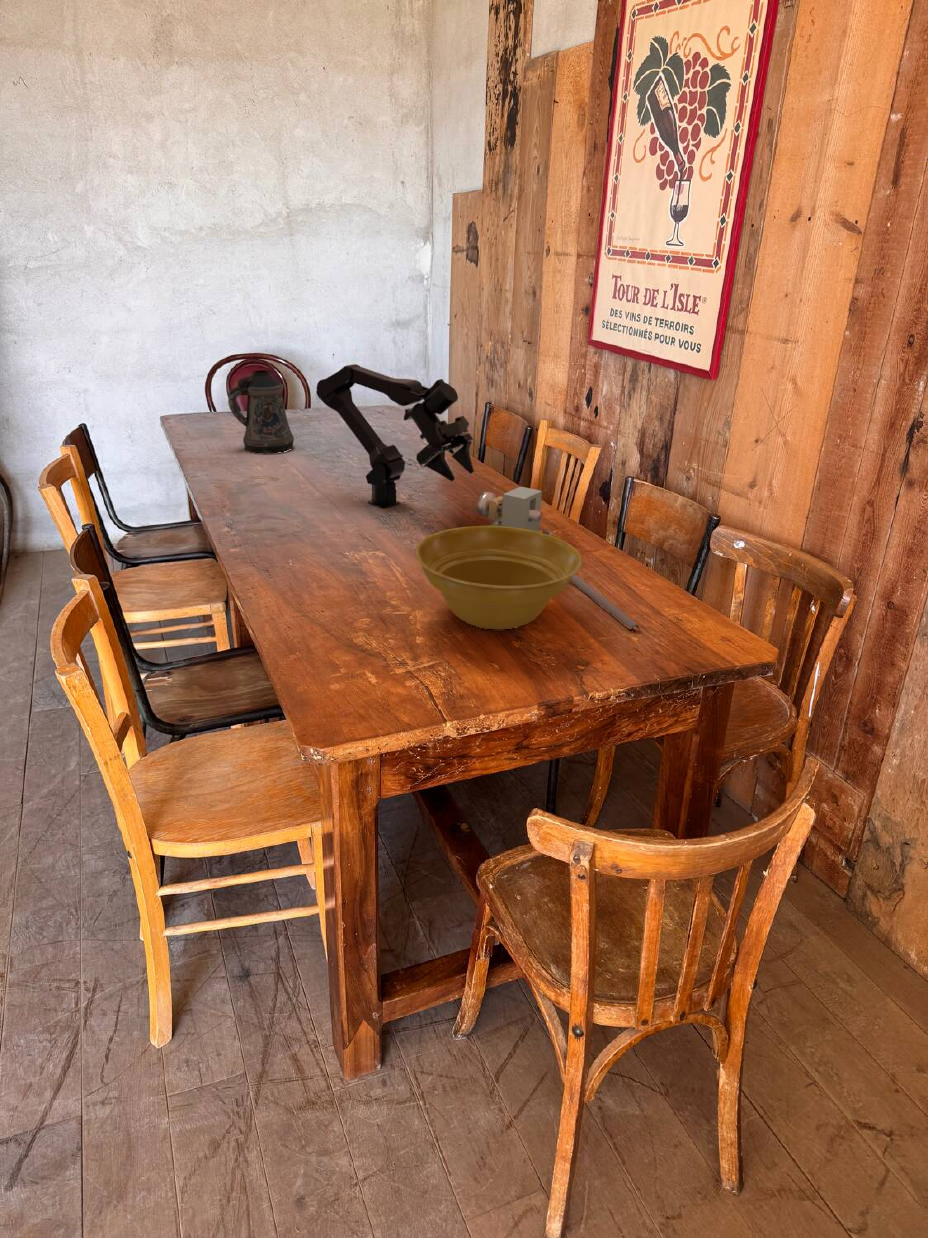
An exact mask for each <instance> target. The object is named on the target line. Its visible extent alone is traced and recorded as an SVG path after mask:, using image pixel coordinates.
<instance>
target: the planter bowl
mask: <svg viewBox="0 0 928 1238" xmlns="http://www.w3.org/2000/svg"><path fill="white" fill-rule="evenodd" d="M581 555H582V554H581V553H580V552H579V550H577V549H576V548H575V547H574V546H573V545H571V544H569V543H568V542H567V541H564V540H562V539H560V538H558V537H555V536H554V535H553V536H550V535H547V534H544V533H540V532H536V531H532V530H527V529H521V528H513V527H503V526H489V525H474V526H473V525H472V526H463V527H456V528H450V529H445V530H441V531H438V532H436V533H433V534H431V535H429V536H427V537H424V539H422V540H420V541H419V543H418V544H417V545H416V546H415V548H414V557H415V559H416V562H417V563H418V564H419V565H420V566H421V568H422V570H423V572H424V574H425V577H426V579H427V580H428V582H429V583H430V584H431V585H432V586H433V587H434V588H435V589H437V590H438V591H440V592H441V595H442V597H443V598H444V601H445V602H446V605H447V606H448V607H449V609H450V610H451V612H452V613H453V614H454V615H455V617H457V618H458V619H460V620H461V621H463V622H464V621H465V622H464V623H466V624H467V625H470V624H471V625H470V626H472V625H474V626H476V627H475V628H478V627H479V628H478V629H482V628H484V629H483V630H487V629H510V628H515V627H518V626H521V627H523V626H525V625H527V624H529V623H531V622H532V621H534V620H535V619H537V617H538V616H539V615H540V614H541V612H542V611H543V610H545V608H546V606H547V605H548V603H549V602H550V600H551V599H552V598H554V597H555V596H557V595H559V594H560V593H562V592H563V591H564V590H565V589H566V588H567V586H568V585H569V584H570V583H571V582H570V580H571V578H572V576H573V575H575V574H576V575H577V574H578V572H579V571H580V570H581V568H582V566H583V557H582V556H581ZM522 625H523V626H522ZM474 626H473V627H474ZM518 628H519V627H518ZM515 629H516V628H515ZM510 630H511V629H510Z"/></svg>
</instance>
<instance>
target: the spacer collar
mask: <svg viewBox="0 0 928 1238" xmlns="http://www.w3.org/2000/svg"><path fill="white" fill-rule="evenodd" d="M501 503H503V495H499V496H497V497H496V498H494V499H492V500H490V502H489V517H488V521H489V522H493V523H495V522H497V521H499V520H501V519H502V513H501V512H498V505H499V504H501Z"/></svg>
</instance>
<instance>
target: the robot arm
mask: <svg viewBox="0 0 928 1238" xmlns="http://www.w3.org/2000/svg"><path fill="white" fill-rule="evenodd" d="M355 384H357V385H360V386H362V387H365V388H368V389H371V390H373V391H376V392H379V393H381V394H384V395H386V396H387V397H388V398H389V400H390V401H392V402H394V403H396V404H397V405H399V406H401V407H406V406H409V405H413V406H412V407H411V408H410V407H409V408H406V409H405V410H404V416H403V420H404V421H409V420H412V421H413V422H414V423H415V425H416V427H417V428H418V430H419V431H420V433H421V434H420V435H419V438H420V439H421V440H425V441H426V442H427V443H428V444H427V445H426V446H425V447H424V448H422V449H421V450H419V451H418V453H416V459H415V460H416V461H417V463H418V465H419V466H420V467H421V466H424V467H425V468H428V469H430V470H432V471H434V472H436V473H437V474H439V475H441V476H442V477H444V478H445V479H447V480H449V481H450V482H454V481H455V476H454V473H453V472H452V470H451V468H450V466H449V464H448V463H447V461H446V452H449V453H450V454H451V457H452V458H453V459H454V460H455V462H457V463H458V464H459V465H460V466H461V467H462V468H463V469H464V470H466V471H467V472H468V473H470V474H473V473H474V471H475V469H474V466H473V463H472V459H471V455H470V446H472V441H474V439H473V437H472V435H471V433H470V432H469V430H468V427H469V425H470V423H469V421H468V419H467V418H466V417H465V416H464V415H462V416H458V417H455V418H454V422H452V423H448V422H447V421H446V420H445V419H444V420H441V419H440V417H439V416H438V415H443V414H444V413H445V412H446V411H447V410H448V409H450V408H451V406H453V405H454V404H455V403H456V402H457V401H458V399H459V396H458V393H457V390H456V388H454V387H453V386H452V385H450V384H449V383H447V382H445V380H444V379H442V378H439V379H437V380H436V381H435V382H434V383H433V384H432V385H431V387H427V386H423V385H422V382H421V381H419V380H417V379H410V378H394V377H391V376H389V375H385V374H382V373H380V372H376V371H374V370H371V369H369V368H365V367H363V366H360V365H359V364H356V363H354V364H348V365H347V364H346V365H345V366H343V367H341V368H340V369H339V370H338V371H337V372H335V373H333V374H330V376H328V377H326V378H322V379H320V380H319V381H318V382H317V385H316V391H315V393H316V395H317V397H318V398H319V400H320V401H321V402H323V404H324V405H325V406H326V407H328V408H330V409H331V410H334V411H335V412H336V413H338V415H339V417H341V419H342V420H343V421H344V422H345V424H346V426H347V427H348V428H349V430H351V432H352V433H353V435H354V436H355V437H356V439H357V440H358V442H359V443H360V444H361V446H362V447H363V448H364V450H365V451H366V453H367V454H368V458H369V464H370V466H371V468H372V469H371V470H370V471H369V472H368V473H367V474H366V475H365V478H366V482H367V485H371V500H368V501H367V503H368V504H370V505H372V506H375V507H379V508H382V509H384V508H389V507H393V506H397V505H399V504H401V501H399V500H397V488H396V487H397V486H396V484H397V483H396V482H395V481H399V480H400V479H401V476H402V474H403V473H404V471H405V466H406V462H405V460H404V458H403V457H404V455H403V454H402V453H400V451H399V450H398V448H397V446H396V445H395V444H391V445H386V443H384V442H383V440H381V438H380V436H379V435H378V434H377V433H376V431H375V430H374V429H373V427H372V426H371V424H370V423H369V421H368V420H367V419H366V418H365V416H364V415H363V413H362V412H361V411H360V410H359V408H358V407H357V405H356V404H355V402H354V401H353V394H352V390H351V388H352V387H353V386H355ZM421 401H422V402H421Z"/></svg>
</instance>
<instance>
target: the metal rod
mask: <svg viewBox="0 0 928 1238" xmlns="http://www.w3.org/2000/svg"><path fill="white" fill-rule="evenodd" d="M570 581H571V582H572V583H571V582H570V583H571V584H572V585H574V584H575V585H576V586H577V587H579V588H580V589H581V590H582V591H584V592H585V593H586V594H587V595H588V596H590V597H591V598H592V599H593V600H594V601H596V602H597V603H599V604H600V605H602V606H603V607H604V608H605V609H606V610H608V611H609V612H610V613H611V614H612V615H614V616H615V617H616V618H617V619H619V620H620V621H621V622H622V623H623V624H625V625H626V626H628V627H629V628H630V629H632V628H633V627H634V626H636V627H637V628H638V629H639V630H640V628H641V627H640V625H639V624H638V623H637V622H636V621H634V620H633V619H632V618H631V617H629V616H628V615H627V614H626V613H625V612H624V611H622V610H620V609H619V608H618V607H617V606H615V605H614V604H613V603H612V602H611V601H610V600H608V599H607V598H606V597H604V596H603V595H602V594H600V592H598V591H597V590H596V589H594V588H593V587H592V586H591V585H590V584H588V583H587V582H586V581H584V580H583V579H582V578H580V576H579V575H577V573H576V574H575V575H573V576H572V578H571V580H570ZM575 585H574V586H575ZM576 586H575V587H576ZM577 587H576V588H577ZM579 588H578V589H579ZM580 589H579V590H580ZM581 590H580V591H581ZM582 591H581V592H582ZM585 593H584V594H585ZM586 594H585V595H586ZM587 595H586V596H587ZM588 596H587V597H588ZM591 598H590V599H591ZM592 599H591V600H592ZM593 600H592V601H593ZM594 601H593V602H594ZM596 602H595V603H596ZM597 603H596V604H597ZM632 630H633V629H632Z"/></svg>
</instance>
